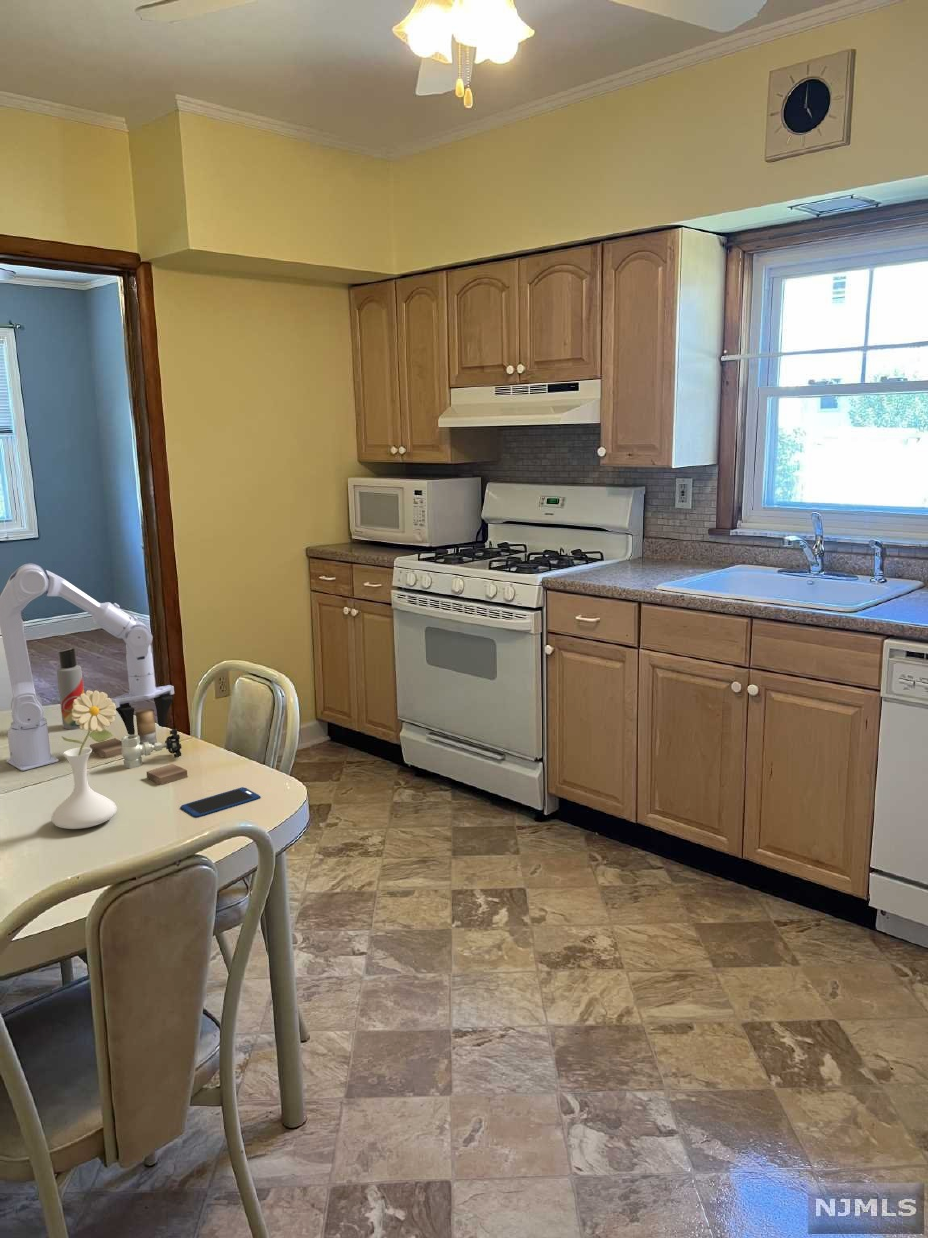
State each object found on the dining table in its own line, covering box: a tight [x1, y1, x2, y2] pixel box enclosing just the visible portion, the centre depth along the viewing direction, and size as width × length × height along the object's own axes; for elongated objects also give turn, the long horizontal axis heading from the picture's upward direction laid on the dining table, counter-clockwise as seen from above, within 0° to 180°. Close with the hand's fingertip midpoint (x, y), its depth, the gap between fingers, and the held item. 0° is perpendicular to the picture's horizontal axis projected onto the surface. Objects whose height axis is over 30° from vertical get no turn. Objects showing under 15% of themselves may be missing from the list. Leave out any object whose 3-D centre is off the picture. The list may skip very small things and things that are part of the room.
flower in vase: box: [51, 689, 118, 830], centre depth 170 cm, size 13×11×25 cm
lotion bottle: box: [56, 647, 85, 730], centre depth 229 cm, size 6×6×20 cm
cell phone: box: [180, 786, 261, 819], centre depth 179 cm, size 7×14×1 cm, turn 131°
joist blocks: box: [89, 737, 188, 786], centre depth 203 cm, size 33×6×2 cm, turn 46°
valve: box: [120, 728, 182, 769], centre depth 203 cm, size 7×7×12 cm
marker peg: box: [135, 708, 158, 745], centre depth 215 cm, size 4×4×8 cm
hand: (146, 730), depth 215 cm, fingers open, 7 cm apart
